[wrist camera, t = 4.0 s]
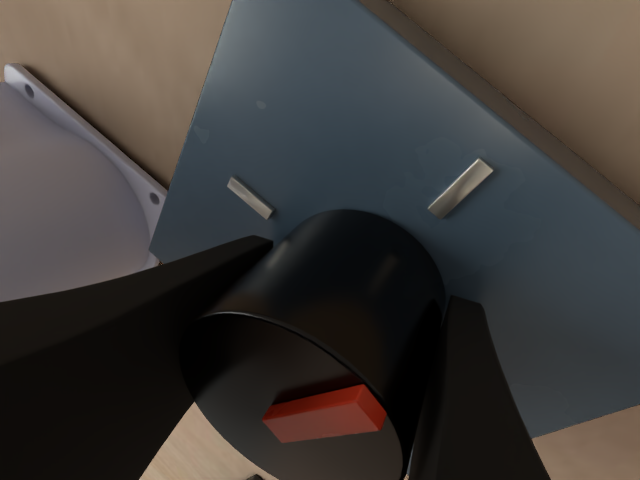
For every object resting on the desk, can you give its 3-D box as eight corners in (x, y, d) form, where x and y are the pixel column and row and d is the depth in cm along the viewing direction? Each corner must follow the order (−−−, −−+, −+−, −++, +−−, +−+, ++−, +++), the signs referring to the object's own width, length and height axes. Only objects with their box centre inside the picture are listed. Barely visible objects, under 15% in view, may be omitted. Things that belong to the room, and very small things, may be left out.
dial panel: (204, 216, 15) (143, 252, 12) (324, -51, 9) (252, -84, 6) (426, 406, 15) (409, 483, 12) (715, 266, 8) (801, 365, 6)
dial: (345, 367, 11) (271, 517, 8) (255, 253, 10) (130, 361, 7) (484, 327, 8) (466, 532, 5) (373, 172, 8) (264, 282, 4)
